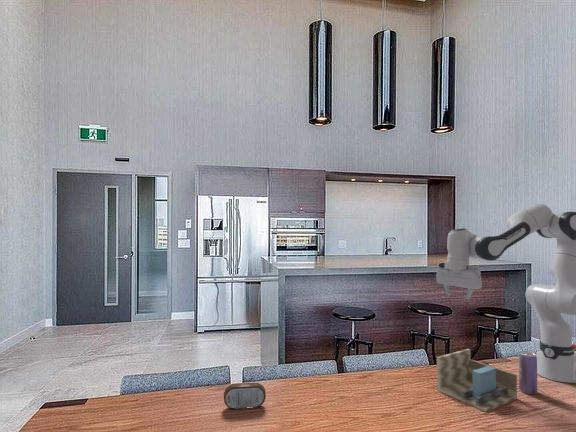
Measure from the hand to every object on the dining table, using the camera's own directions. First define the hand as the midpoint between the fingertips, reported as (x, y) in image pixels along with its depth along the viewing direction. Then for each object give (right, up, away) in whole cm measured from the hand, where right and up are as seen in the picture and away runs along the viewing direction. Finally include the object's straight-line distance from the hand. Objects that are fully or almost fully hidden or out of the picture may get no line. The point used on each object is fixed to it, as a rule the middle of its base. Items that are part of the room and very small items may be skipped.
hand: (458, 296), depth 162 cm
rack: (-2, -34, -19) cm, 39 cm away
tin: (-90, -33, -30) cm, 101 cm away
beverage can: (+20, -34, -17) cm, 43 cm away
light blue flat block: (-1, -33, -23) cm, 40 cm away
